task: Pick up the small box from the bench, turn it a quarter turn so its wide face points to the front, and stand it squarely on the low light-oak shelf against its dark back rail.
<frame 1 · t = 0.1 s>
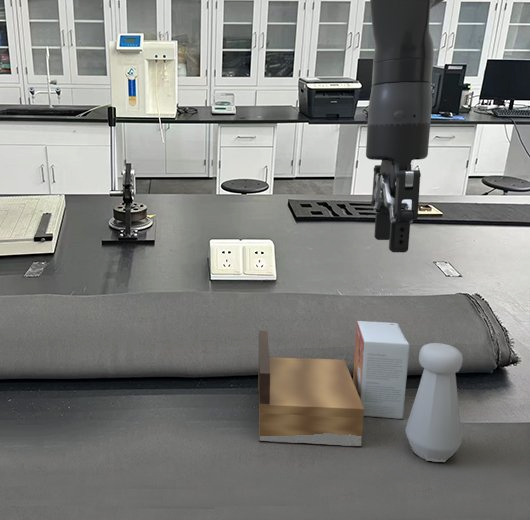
hand: (389, 245, 72), 21 cm above the countertop, tool pointing down, fingers open, 8 cm apart
small box: (376, 404, 73), on the countertop
shelf: (304, 415, 70), on the countertop
salt shaker: (431, 454, 61), on the countertop
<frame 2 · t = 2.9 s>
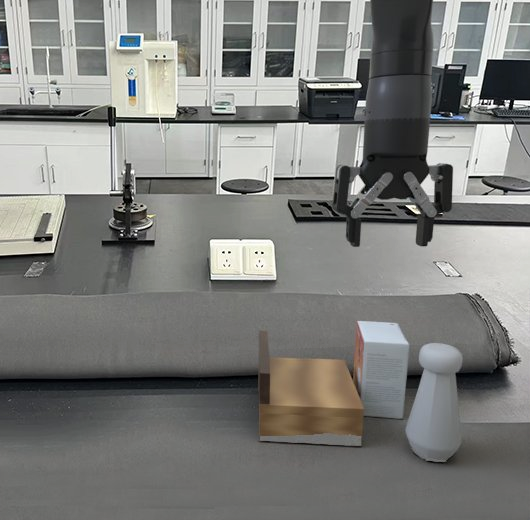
hand: (388, 245, 69), 22 cm above the countertop, tool pointing down, fingers open, 8 cm apart
nothing on the countertop moved.
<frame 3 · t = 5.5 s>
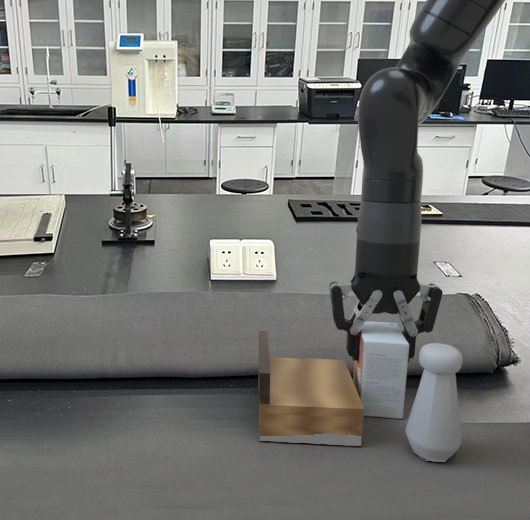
hand: (379, 358, 71), 7 cm above the countertop, tool pointing down, fingers closed on small box, 5 cm apart
small box: (376, 404, 73), on the countertop, touching gripper
everything else where it was.
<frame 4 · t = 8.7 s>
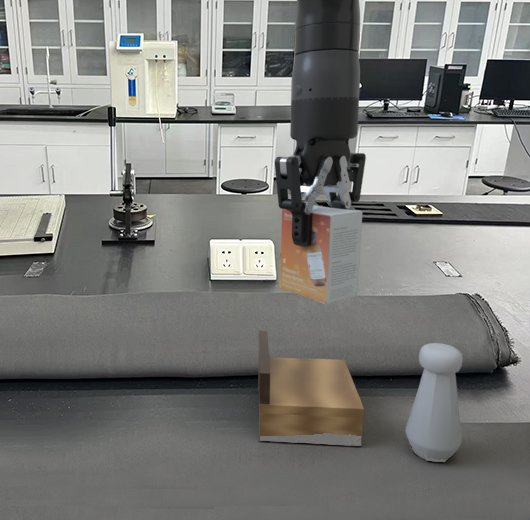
hand: (319, 241, 64), 23 cm above the countertop, tool pointing down, fingers closed on small box, 5 cm apart
small box: (317, 294, 66), point 17 cm above the countertop, touching gripper
everything else where it was.
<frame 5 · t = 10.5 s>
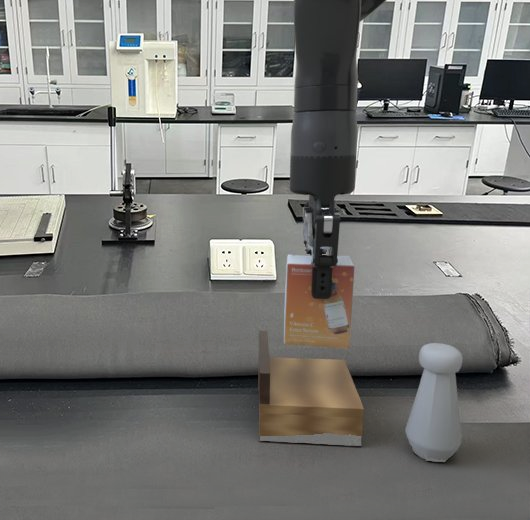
hand: (317, 289, 66), 17 cm above the countertop, tool pointing down, fingers closed on small box, 5 cm apart
small box: (315, 340, 67), point 10 cm above the countertop, touching gripper
everything else where it was.
when the fingers open (12 cm above the countertop, at t = 12.2 s): small box stays where it is, resting on shelf.
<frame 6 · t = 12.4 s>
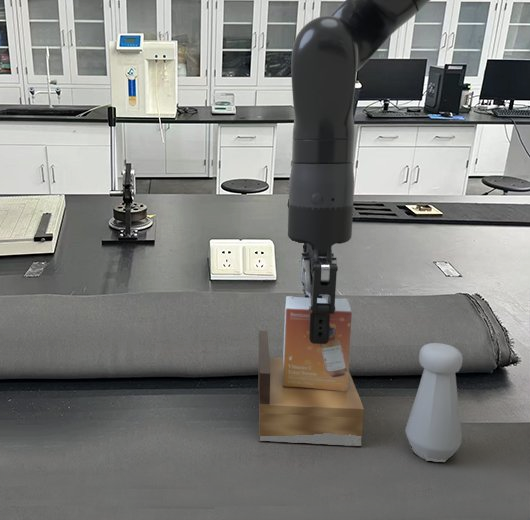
hand: (315, 331, 67), 12 cm above the countertop, tool pointing down, fingers open, 6 cm apart
small box: (314, 381, 69), point 5 cm above the countertop, touching shelf
everything else where it was.
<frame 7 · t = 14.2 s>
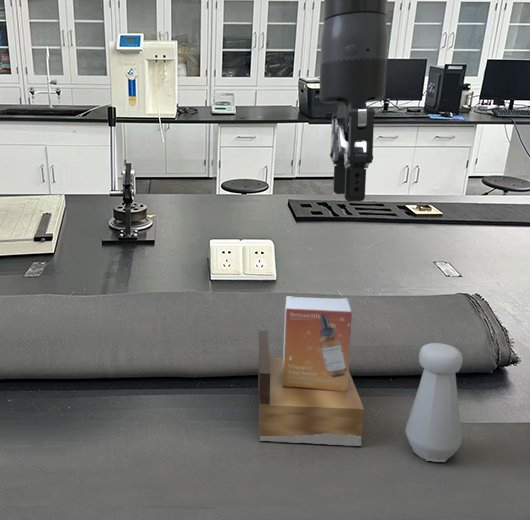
hand: (347, 197, 66), 28 cm above the countertop, tool pointing down, fingers open, 8 cm apart
nothing on the countertop moved.
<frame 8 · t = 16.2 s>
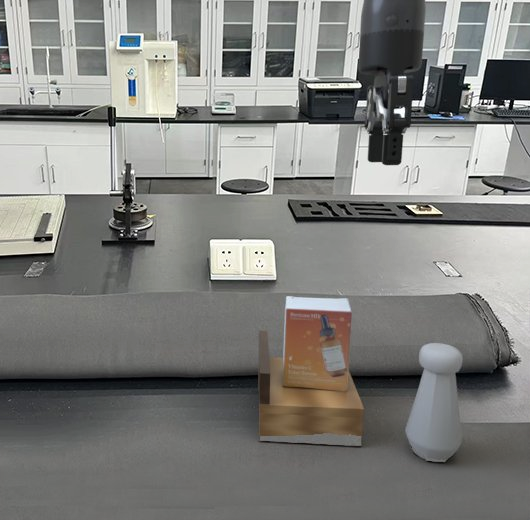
hand: (383, 163, 70), 32 cm above the countertop, tool pointing down, fingers open, 8 cm apart
nothing on the countertop moved.
at the end: small box inside the target area (0.4 cm from its centre), point 4.8 cm above the countertop; small box tilted 0°; the gripper is holding nothing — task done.
